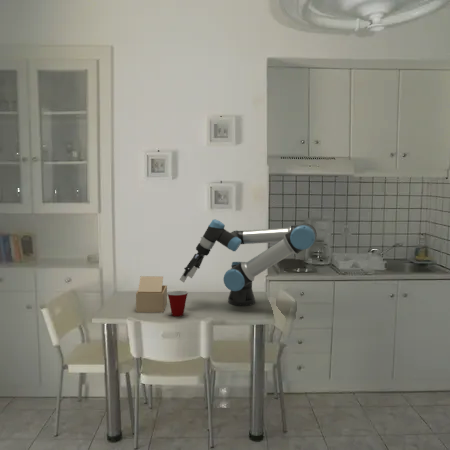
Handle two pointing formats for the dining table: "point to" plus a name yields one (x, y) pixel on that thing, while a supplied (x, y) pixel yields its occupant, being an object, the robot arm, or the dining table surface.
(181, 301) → the plastic cup
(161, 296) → the carton
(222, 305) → the dining table surface
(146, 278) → the flap
